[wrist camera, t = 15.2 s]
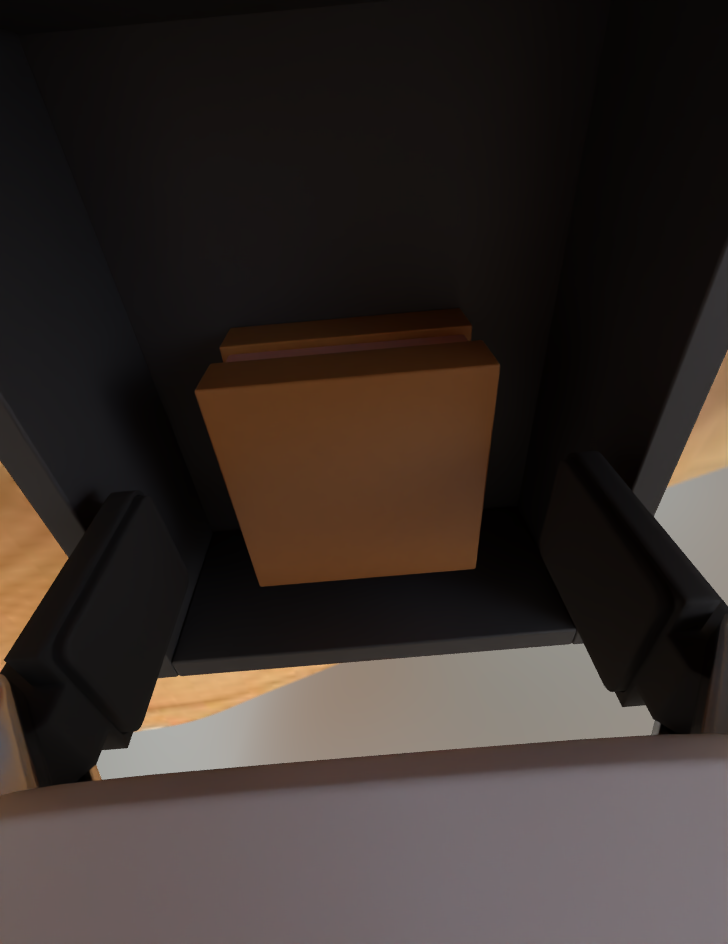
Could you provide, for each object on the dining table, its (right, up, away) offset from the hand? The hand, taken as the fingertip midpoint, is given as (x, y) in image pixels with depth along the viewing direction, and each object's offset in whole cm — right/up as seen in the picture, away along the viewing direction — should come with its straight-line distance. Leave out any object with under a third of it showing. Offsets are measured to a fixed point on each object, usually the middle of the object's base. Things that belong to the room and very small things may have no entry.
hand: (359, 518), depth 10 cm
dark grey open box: (0, +5, +3) cm, 6 cm away
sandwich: (0, +3, +4) cm, 5 cm away
